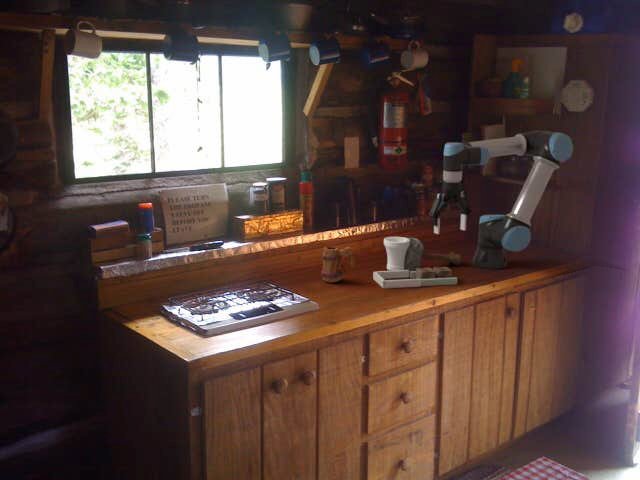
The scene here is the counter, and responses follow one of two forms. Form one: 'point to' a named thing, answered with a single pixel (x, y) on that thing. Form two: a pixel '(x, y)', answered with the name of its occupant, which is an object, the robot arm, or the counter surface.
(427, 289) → the counter surface
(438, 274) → the chip
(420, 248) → the hammer
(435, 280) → the slot rails
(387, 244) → the cup
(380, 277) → the tray frame
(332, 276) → the mug
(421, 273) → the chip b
